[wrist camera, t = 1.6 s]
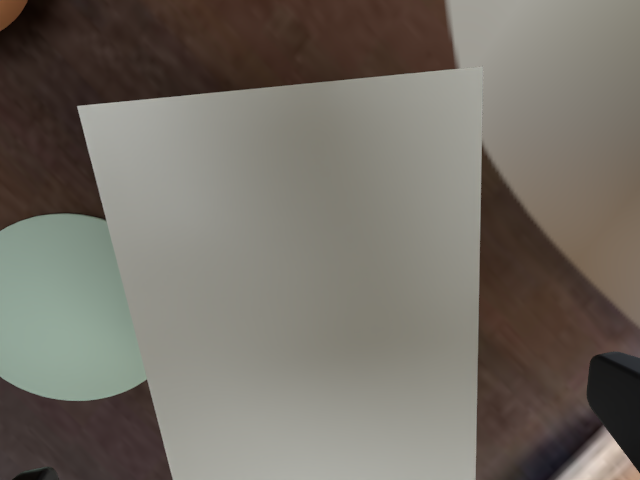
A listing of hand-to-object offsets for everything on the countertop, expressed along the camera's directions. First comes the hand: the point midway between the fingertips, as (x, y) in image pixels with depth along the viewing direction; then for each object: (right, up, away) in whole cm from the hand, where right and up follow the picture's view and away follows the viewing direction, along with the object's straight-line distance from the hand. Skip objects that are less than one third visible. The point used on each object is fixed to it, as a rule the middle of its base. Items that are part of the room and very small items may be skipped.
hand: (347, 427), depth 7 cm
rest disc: (-10, 0, +10) cm, 14 cm away
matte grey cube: (-2, +3, +11) cm, 12 cm away
